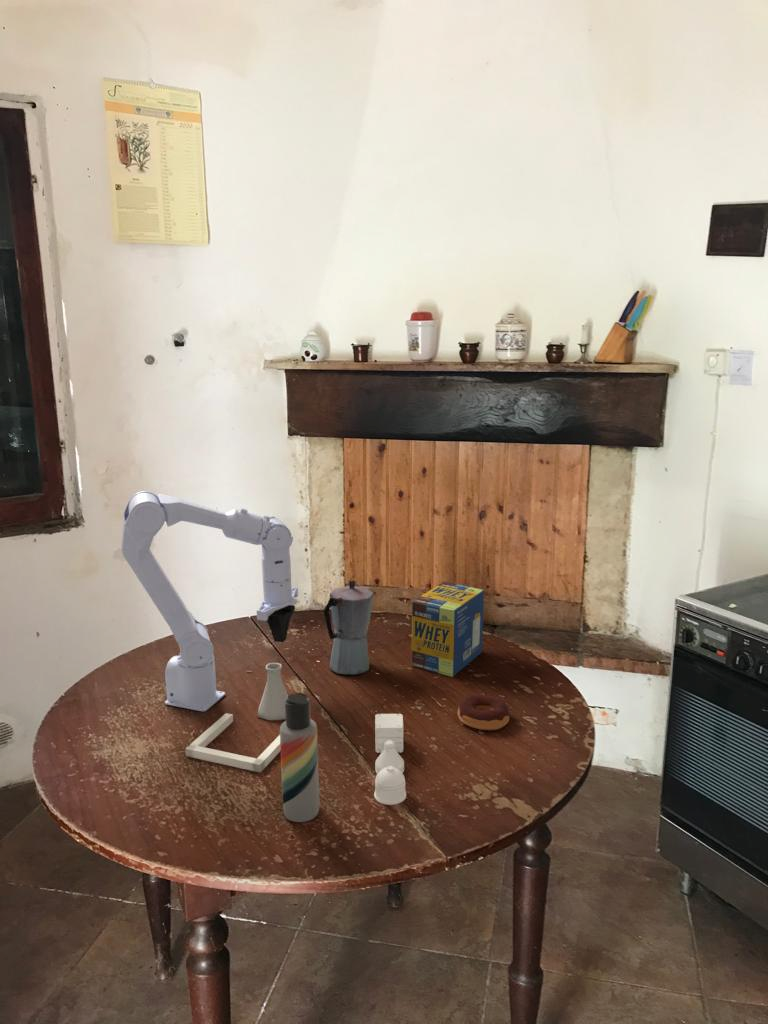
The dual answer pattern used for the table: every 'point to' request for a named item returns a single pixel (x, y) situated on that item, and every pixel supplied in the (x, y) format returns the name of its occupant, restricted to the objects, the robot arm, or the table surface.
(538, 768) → the table surface
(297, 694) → the lotion bottle
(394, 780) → the container set
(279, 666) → the flask
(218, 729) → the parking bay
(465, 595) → the protein box
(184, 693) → the robot arm
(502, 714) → the donut
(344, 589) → the moka pot
